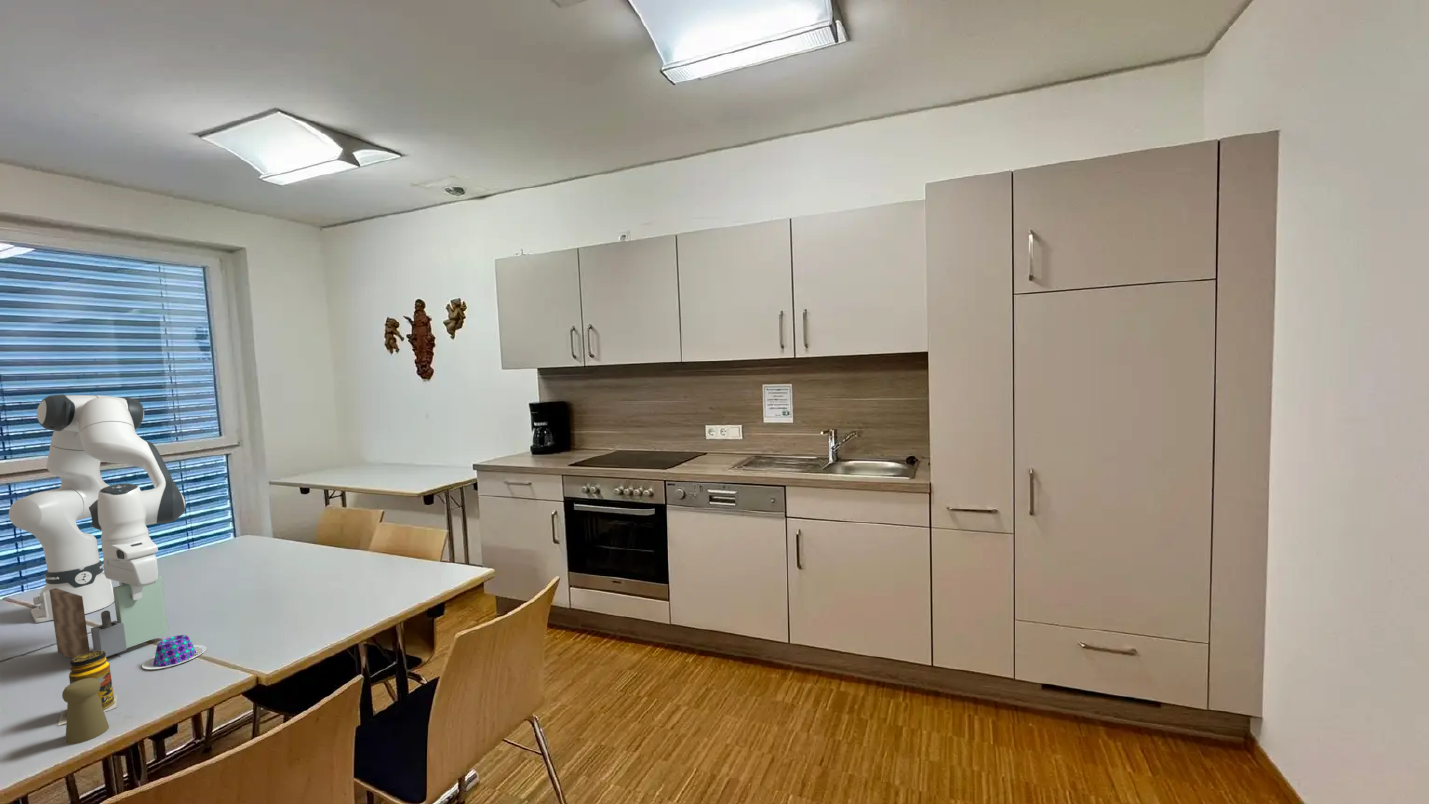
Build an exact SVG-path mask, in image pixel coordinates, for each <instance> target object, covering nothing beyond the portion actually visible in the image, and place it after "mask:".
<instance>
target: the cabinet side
mask: <svg viewBox="0 0 1429 804" xmlns="http://www.w3.org/2000/svg"><path fill="white" fill-rule="evenodd" d="M49 591H50V598H51V606H52V613H53V620H52V621H53V625H54V634H55V642H56V647H57V653H59V655H64V656H65V657H68V658H71V660H72V659H74V658H75V657H77V656H79V655H82V654H85V653H88V652H91V650H90V643H89V635H88V629H87V621H86V614H85V613H84V605H83V598H82V596H80V595H76V594H73V593H70V592H67V591H63V590H60V589H57V588H55V589H51V590H49ZM100 618H101V625H102V626H103V629H105V628H108V627H111V626H112V624H111V622H112V617H111V611H110V610H103V611H102V612H101V613H100ZM117 657H118V658H120V657H121V653H116V654H113V655H110V656H107V657H106V659H107V660H106V661H107V662H109V661H112V660H115V659H118V658H117Z"/></svg>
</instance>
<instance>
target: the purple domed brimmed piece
mask: <svg viewBox="0 0 1429 804" xmlns="http://www.w3.org/2000/svg"><path fill="white" fill-rule="evenodd" d="M194 647H199V648H202V650H203V651H202V653H200V654H198V655H196V654H197V653H196V652H197V651H196V650H195V648H194ZM155 648H156V649H155V653H154V656H152V657H151V658H149V659H147V660H145V661H144V662H143V663H142V666H141V667H142V668H143V669H145V670H159V669H164V668H171V667H173V666H177V665H180V664H184V663H186V662H188V661H190V660H193V659H195V658H197V657H199V656H200V655H202V654H203V653H204V652H205V651H206V650H207V647H206V646H205V645H202V644H193V643H192V640H191V638H190V637H189V635H186V634H181V635H173V636H170V637H167V638H165V639H163V640H161V641H159V642H158V643H157V646H156V647H155ZM194 653H196V654H195V655H196V656H195V655H194ZM189 658H190V659H189ZM188 659H189V660H188Z"/></svg>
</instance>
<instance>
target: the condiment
mask: <svg viewBox="0 0 1429 804" xmlns="http://www.w3.org/2000/svg"><path fill="white" fill-rule="evenodd" d="M106 660H107V659H106V653H105V652H104V651H94V650H93V651H90V652H88V653H85V654H82V655H79V656H77V657H75V658H74V659H72V658H71V660H70V661H69V662H70V663H69V665H70V667H69V669H70V671H69V674H68V678H69V685H70V684H72V683H74V682H76V681H79V680H82V679H87V678H96V679H97V680H99V682H100V685H101V686H100V690H99V692H98V693H97V694H98V696H99V699H100V702H101V705H102V708H103V711H104V713H105V712H107V711H111V710H114V709H115V708H116V709H117V704H118V703H117V701H118V694H115V695H114V689H113V688H114V687H113V682H112V681H113V680H112V672H111V665H110V663H109V661H106ZM66 722H67V709H65V710H61V712H60V717H59V721H58V725H57V726H58V727H60V726H62V725H66Z"/></svg>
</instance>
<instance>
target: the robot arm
mask: <svg viewBox="0 0 1429 804" xmlns="http://www.w3.org/2000/svg"><path fill="white" fill-rule="evenodd" d="M36 418H37V421H38V423H39V425H40V426H41V427H42V428H43V429H45V430H49V431H52V432H53V433H52V436H51V440H50V445H49V450H48V455H47V456H48V457H47V461H46V469H47V471H48V472H49V473H51V474H52V475H54V476H56V477H58V478H60V481H61V483H60V486H59V487H58V488H54V489H49V490H44V491H39V492H35V493H32V494H29V495H27V496H25V497H22V498H19V499H17V500H16V501H14V502H13V503H12V504H11V505H10V507H9V510H8V518H9V520H10V522H11V523H12V525H13V526H15V527H16V528H18V529H20V530H23V531H26V532H28V533H29V534H31V535H33V536H34V537H35V538H36V539H37V540H38V542H39V543H40V544H41V547H42V550H43V553H44V559H45V564H46V569H47V570H46V571H45V576H44V579H45V581H44V582H45V583H46V584H45V585H44V587H43V588H42V590H41V591H40V592H39V595H38V596H35V597H33V598H32V599H33V605H35V606H36V607H34V608H32V609H31V610H30V615H31V616H32V618H33V620H34V623H36V624H37V623H44V622H48V621H54V620H53V613H52V606H51V598H50V591H49V590H51V589H55V588H57V589H60V590H63V591H67V592H70V593H73V594H76V595H80V596H82V598H83V605H84V613H85V615H87V614H90V613H94V612H97V611H99V610H101V609H105V608H107V607H109V606H110V605H112V604H114V603H115V602H114V594H113V584H112V581H115V582H118V584H119V585H118V586H120V585H124V584H129V585H130V587H131V588H132V591H131V593H130V596H131V599H132V600H138V599H141V598H142V589H143V587H144V586H147V585H151V584H154V583H156V581H157V578H158V576H159V575H158V574H159V570H158V560H157V559H158V558H157V556H156V554H158V552H159V548H158V545H157V544H156V543H155V542H154V541H153V540H152V539H151V536H150V534H149V533H150V532H149V529H148V527H147V526H150V525H156V524H157V525H160V524H168V523H173V522H175V521H176V520H178V519H179V518H180V517H181V516H182V515H183V514H184V513H185V510H186V500H185V496H184V495H183V494H182V492H181V491H180V489H179V488H178V486H177V484H176V483H175V481H174V479H173V477H172V475H171V473H170V471H169V469H168V466H167V465H166V463H165V461H164V460H163V458H162V455H161V453H160V452H159V450H158V449H157V447H156V446H155V444H154V443H153V442H152V441H148V440H145V439H143V438H141V436H139V435H138V434H137V432H136V429H138V428H139V427H140V426H141V425H142V423H143V421H144V418H145V411H144V406H143V404H142V403H141V402H140V401H139V400H138V399H134V398H130V397H118V396H111V395H101V394H99V395H98V394H92V395H91V394H90V395H88V394H86V395H85V394H83V395H82V394H79V395H78V394H77V395H76V394H75V395H74V394H71V395H65V394H52V395H48V396H46V397H44V398H42V399H41V402H40V403H39V405H38V406H37V409H36ZM102 462H104V463H109V464H118V465H119V464H120V465H127V466H133V467H138V468H141V469H143V470H144V471H146V473H147V475H148V478H149V479H150V481H151V483H152V485H153V488H151V489H144V490H141V488H140V486H139V485H137V484H134V483H116V484H112V485H110V484H108V483H106V482H105V481H104V479H103V478H102V475H101V463H102ZM88 518H91V526H90V527H92V528H94V529H96V530H98V531H101V535H100V536H101V537H100V544H101V549H102V557H103V559H102V560H103V561H102V560H100V553H99V546H98V545H99V544H98V540H97V538H96V536H94V534H91V533H87V532H84V531H82V530H80V528H79V526H78V524H77V521H80V520H85V519H88ZM103 572H104V573H103ZM37 605H40V606H37Z"/></svg>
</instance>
